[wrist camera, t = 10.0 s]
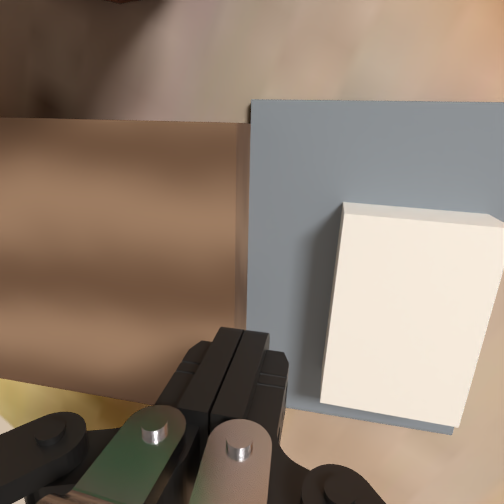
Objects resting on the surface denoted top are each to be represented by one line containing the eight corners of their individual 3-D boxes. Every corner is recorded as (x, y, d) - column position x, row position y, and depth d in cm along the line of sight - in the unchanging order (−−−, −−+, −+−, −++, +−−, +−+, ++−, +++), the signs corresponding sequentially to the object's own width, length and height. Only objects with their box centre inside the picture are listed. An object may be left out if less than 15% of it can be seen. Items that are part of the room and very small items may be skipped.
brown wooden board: (-41, 116, 20) (-102, 114, 17) (252, 123, 17) (236, 122, 14) (7, 344, 24) (-35, 371, 22) (246, 381, 21) (233, 419, 19)
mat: (253, 100, 17) (251, 99, 16) (528, 103, 15) (534, 102, 14) (246, 396, 22) (244, 400, 21) (449, 429, 20) (451, 435, 19)
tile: (514, 228, 13) (488, 214, 16) (344, 213, 15) (343, 201, 17) (458, 427, 16) (443, 390, 19) (320, 402, 17) (321, 370, 20)
